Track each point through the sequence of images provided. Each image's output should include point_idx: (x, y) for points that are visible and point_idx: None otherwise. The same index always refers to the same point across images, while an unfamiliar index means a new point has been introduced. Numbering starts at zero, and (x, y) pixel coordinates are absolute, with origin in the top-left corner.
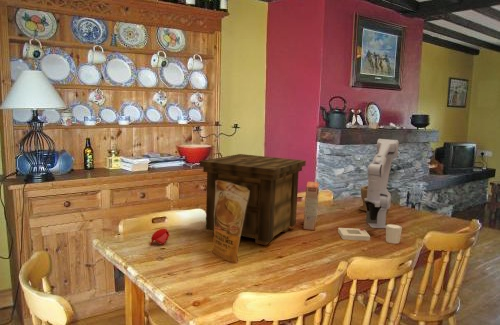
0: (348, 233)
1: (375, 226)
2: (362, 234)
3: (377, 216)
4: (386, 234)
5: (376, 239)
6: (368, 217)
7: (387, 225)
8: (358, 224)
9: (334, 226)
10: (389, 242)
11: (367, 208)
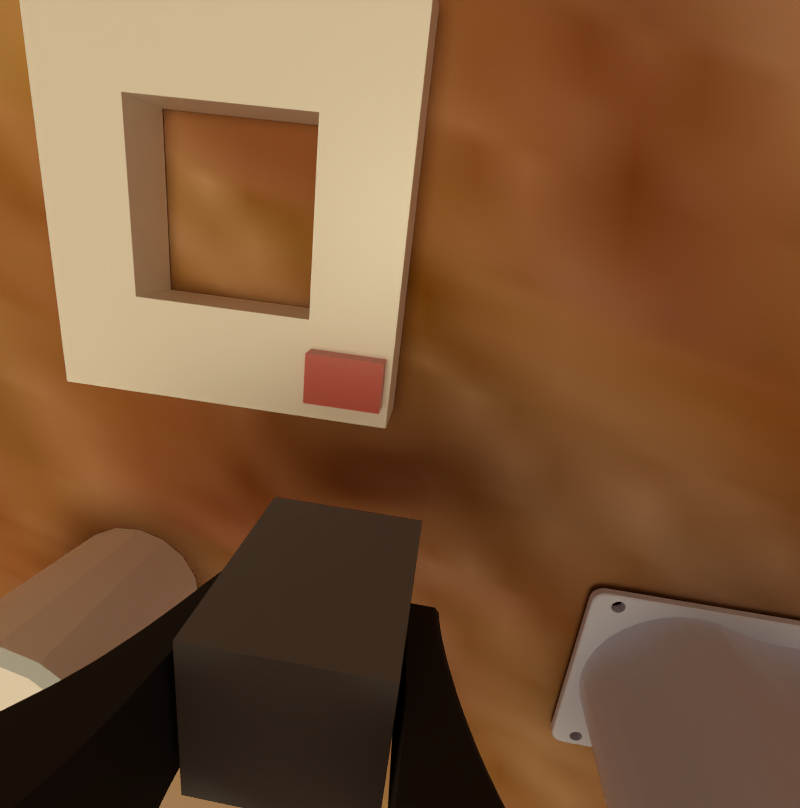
0: (125, 85)
1: (607, 640)
2: (123, 304)
3: (642, 785)
4: (68, 571)
5: (172, 458)
6: (233, 560)
7: (28, 675)
8: (787, 491)
9: (761, 36)
10: (89, 539)
11: (400, 757)
